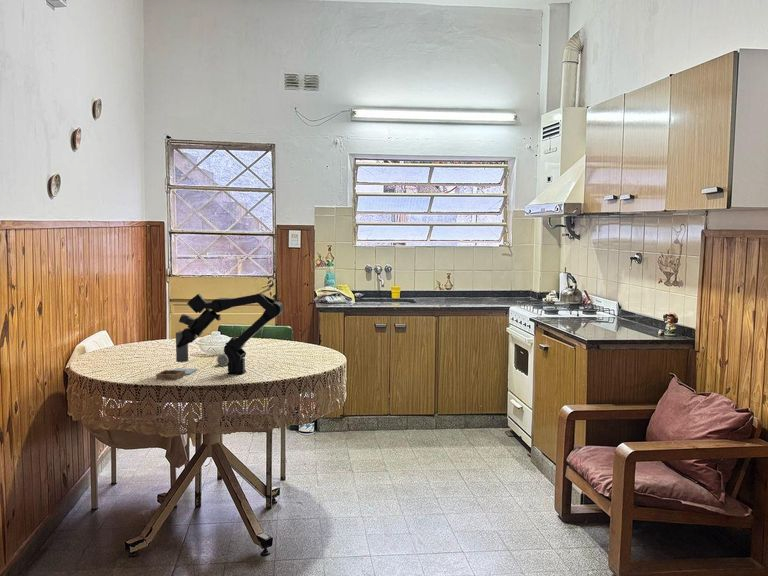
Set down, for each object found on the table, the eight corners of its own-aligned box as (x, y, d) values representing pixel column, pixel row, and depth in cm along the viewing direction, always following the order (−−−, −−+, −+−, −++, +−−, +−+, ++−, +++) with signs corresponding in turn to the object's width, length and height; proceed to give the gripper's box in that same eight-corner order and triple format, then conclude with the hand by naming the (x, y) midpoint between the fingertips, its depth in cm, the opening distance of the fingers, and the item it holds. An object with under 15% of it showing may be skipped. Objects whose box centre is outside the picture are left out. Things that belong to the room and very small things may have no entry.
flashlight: (231, 359, 341) (231, 348, 340) (242, 360, 340) (241, 349, 339) (217, 365, 326) (216, 354, 325) (227, 366, 325) (227, 354, 324)
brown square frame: (185, 375, 304) (185, 370, 304) (177, 379, 295) (177, 375, 295) (165, 374, 305) (164, 370, 305) (156, 379, 296) (156, 374, 296)
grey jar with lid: (190, 360, 311) (189, 329, 310) (183, 362, 306) (182, 331, 305) (181, 359, 313) (180, 329, 312) (173, 361, 308) (173, 330, 307)
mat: (197, 370, 314) (197, 368, 314) (189, 375, 305) (189, 373, 305) (175, 369, 315) (175, 368, 315) (166, 374, 306) (166, 373, 306)
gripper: (194, 305, 317) (169, 330, 317) (185, 310, 298) (159, 336, 299) (212, 322, 318) (188, 347, 318) (205, 328, 300) (179, 354, 300)
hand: (178, 346), depth 309 cm, fingers closed on grey jar with lid, 5 cm apart
